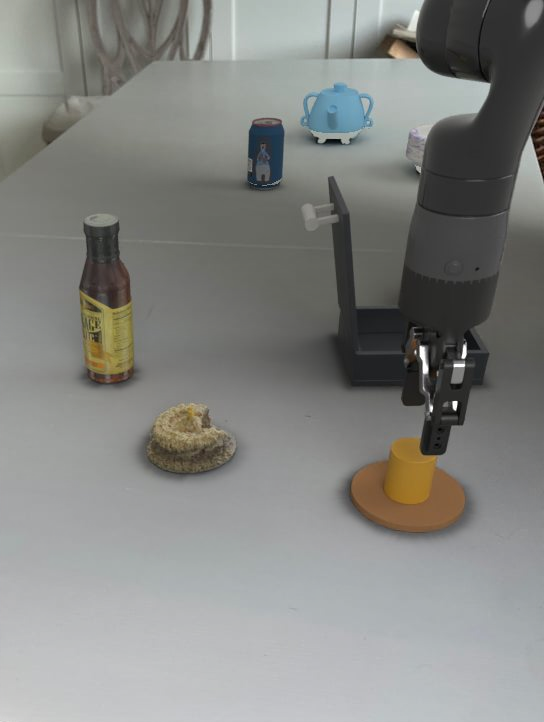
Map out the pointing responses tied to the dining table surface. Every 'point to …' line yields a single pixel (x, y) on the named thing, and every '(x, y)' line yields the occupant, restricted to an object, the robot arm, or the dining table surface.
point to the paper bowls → (417, 143)
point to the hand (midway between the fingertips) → (421, 427)
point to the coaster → (420, 517)
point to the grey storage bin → (391, 348)
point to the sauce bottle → (106, 303)
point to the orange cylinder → (409, 472)
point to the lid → (338, 253)
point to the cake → (188, 440)
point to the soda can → (265, 153)
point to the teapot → (337, 110)
